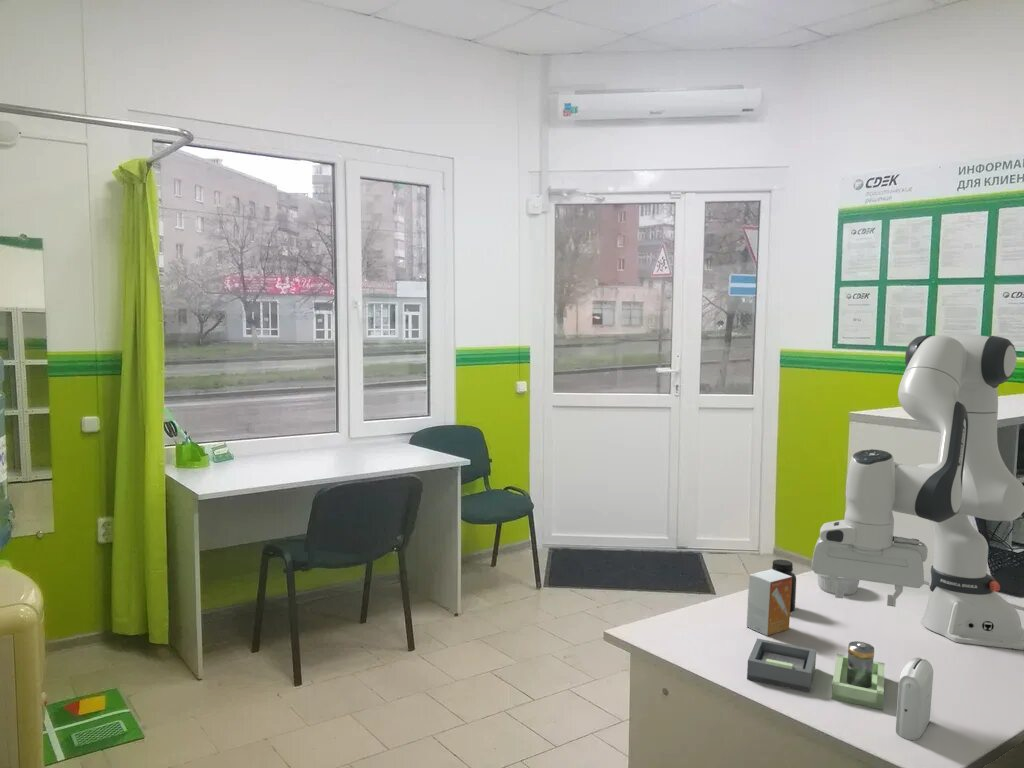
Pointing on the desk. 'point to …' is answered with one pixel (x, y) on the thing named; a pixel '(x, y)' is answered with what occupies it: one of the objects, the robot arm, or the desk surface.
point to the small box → (769, 601)
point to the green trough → (855, 693)
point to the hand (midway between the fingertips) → (864, 601)
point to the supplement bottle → (787, 569)
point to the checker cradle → (781, 665)
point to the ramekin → (846, 583)
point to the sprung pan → (784, 659)
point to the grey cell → (860, 664)
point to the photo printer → (914, 698)
